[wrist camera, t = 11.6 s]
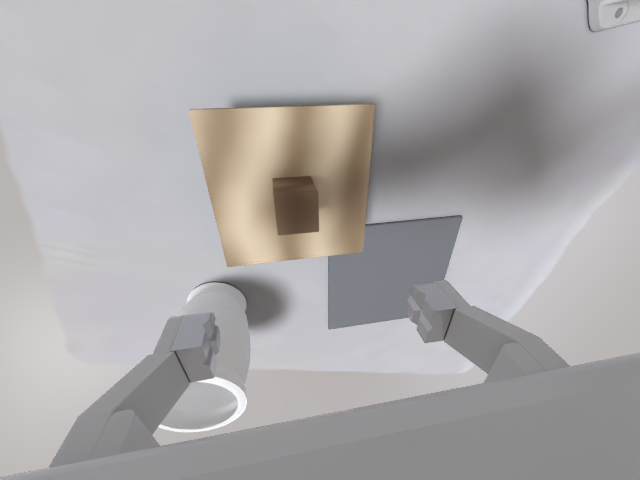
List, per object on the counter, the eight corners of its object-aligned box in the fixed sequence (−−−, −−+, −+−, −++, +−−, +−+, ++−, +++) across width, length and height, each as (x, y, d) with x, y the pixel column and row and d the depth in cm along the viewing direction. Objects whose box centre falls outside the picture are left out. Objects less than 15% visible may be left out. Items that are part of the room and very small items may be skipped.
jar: (267, 307, 41) (266, 406, 29) (213, 336, 42) (190, 443, 30) (222, 263, 36) (197, 361, 23) (163, 297, 37) (107, 408, 24)
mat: (460, 215, 38) (462, 216, 38) (432, 311, 49) (433, 313, 48) (328, 228, 36) (329, 229, 35) (328, 327, 46) (328, 329, 46)
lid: (372, 103, 23) (397, 108, 18) (360, 248, 30) (376, 276, 26) (191, 109, 21) (169, 115, 16) (228, 262, 28) (220, 296, 24)
